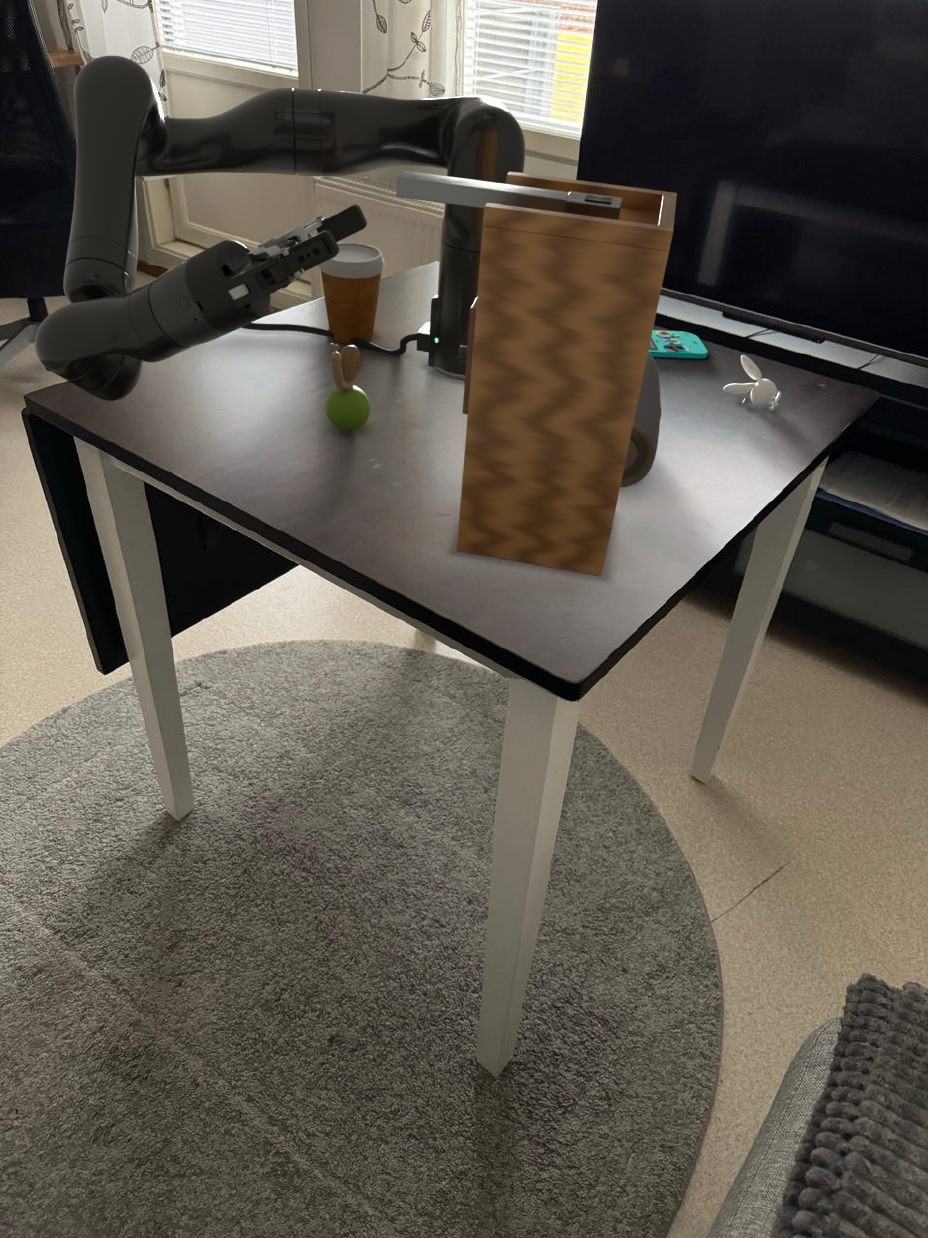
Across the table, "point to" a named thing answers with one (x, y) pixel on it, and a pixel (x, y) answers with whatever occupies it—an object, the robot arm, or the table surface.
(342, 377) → the snail figurine
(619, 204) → the bottle opener
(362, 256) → the disposable coffee cup
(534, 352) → the zigzag wood box
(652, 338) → the handheld gaming console
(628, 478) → the bluetooth speaker
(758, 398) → the rabbit figurine
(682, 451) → the table surface
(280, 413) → the table surface
